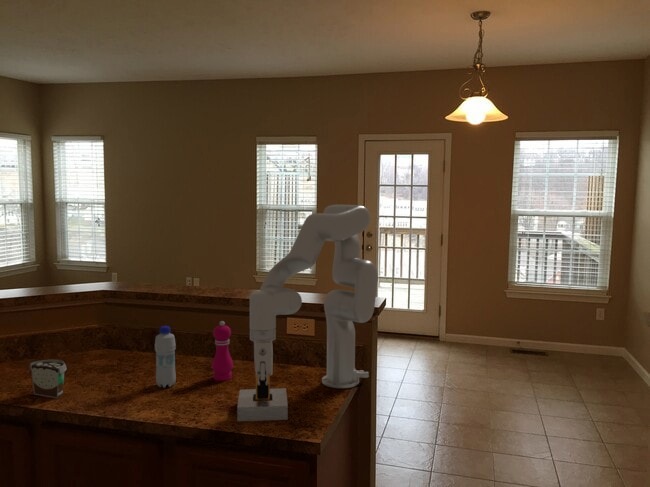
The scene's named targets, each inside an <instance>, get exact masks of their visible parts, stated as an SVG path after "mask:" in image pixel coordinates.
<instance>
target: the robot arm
mask: <svg viewBox="0 0 650 487" xmlns="http://www.w3.org/2000/svg"><path fill="white" fill-rule="evenodd" d="M303 221H304V222H303V224H302V226H301V228H300V230H299V232H298V234H297V237H296V238H295V241H294V243H293V244H292V247H291V249H290V250H289V252H288V253H287V255H285V256H283V258H281V259H280V260H278V262H277V263H276V264H275V265H274V266H273V267H272V268H271V269H270V270H269V271H268V272H267V274H266V276H265V278H264V280H263V281H262V284H261V286H260V289H259V290H257V291H254V292H251V293H250V294H249V340H250V341H251V342H253V358H254V359H253V360H254V369H255V370H254V371H255V376H256V375H257V376H258V385H257V398H258V399H267V398H268V375H270V376H272V375H273V367H274V365H273V363H274V362H273V359H274V357H273V356H274V355H273V353H274V352H273V345H274V344H273V341H275V340H276V339H277V338H276V336H277V335H276V334H277V329H276V328H277V316H279V315H281V316H283V315H288V316H289V315H292V314H296V313H297V312H298V311H299V310H300V308H301V307H302V304H303V302H302V301H303V300H302V296H301V295H300V293H299V292H298V291H296V290H294V289H291V288H285V287H284V285H285V283H286V282H287V281H288V280H289V279H290V278H291V277H292V276H294V275H296V274H298V273H301V272H303V271H306V270H308V269H311V268H312V267H314V265H315V264H316V262H317V260H318V257H319V256H320V254H321V251H322V248H323V246H324V245H325V242H334V255H333V256H334V257H333V262H332V263H333V264H332V275H331V276H332V281H333V282H334V283H335V284H337V285H339V286H343V287H348V288H354V291H352V290H346V289H333V290H331V291H329V292H328V293H327V294H326V295H325V297H324V301H323V302H324V303H323V309H324V314H325V320H326V375H324V376H322V377H321V383H322V384H323V385H324V386H325V387H327V388H328V387H329V388H334V389H351V388H354V387H356V386H358V385H359V383H360V378H363V379H364V378H365V379H366V378H369V377H370V375H369V371H364V370H363V369H362V370H361V369H360V370H357V369H356V366H355V365H356V364H355V363H356V329H355V324H354V322H355V323H360V324H364V323H367V322H368V321H370V319H371V318H372V317H373V314H374V311H375V307H376V306H375V304H376V296H377V288H378V281H379V280H378V269H377V267H376V265H375V264H374V263H373V262H372V260H371V261H370V260H367V259H362V258H361V255H360V254H361V241H360V237H359V234H360V233H362V232H364V231H366V229H368V227H369V226H370V222H371V213H370V211H369V210H368V209H367V207H365V206H363V205H359V204H358V205H357V204H331V205H328V206H326V207H325V208H324V210H323V213H318V212H317V213H311V214H310V215H308V216H307V217H306V218H305V220H303ZM265 372H266V374H265ZM259 373H261V374H259ZM260 377H261V378H260ZM265 377H266V378H265Z"/></svg>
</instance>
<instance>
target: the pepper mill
mask: <svg viewBox="0 0 650 487" xmlns="http://www.w3.org/2000/svg"><path fill="white" fill-rule="evenodd" d="M212 334H213V337H214V338H215V340H214V344H215V346H216V347H215V349H216V350H215V354H214V357H213V360H212V363H211V369H212V370H213V373H212V374H213V376H212V378H213V380H215V381H218V382H220V381H221V382H222V381H223V382H224V381H228V380H231V379H232V377H233V375H232V374H233V373H232V370H233V368H234V362H233V358H232V357H231V354H230V351H229V345H230V343H231V342H230V337H231V335H232V330H231V328H230V327H229V326H228V325H226V322H225V321H223V320H221V321H219V325H218V326H216V327H215V328H214V329H213V333H212Z"/></svg>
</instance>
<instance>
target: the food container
mask: <svg viewBox="0 0 650 487" xmlns="http://www.w3.org/2000/svg"><path fill="white" fill-rule="evenodd" d="M29 370H31V378H32V388H33V395H34V396H35V395H36V396H41V397H46V398H54V399H60V398H61V397H62V396H63V395H64V385H65V383H64V382H65V372H66V371H67V365H66V363H65V361H64V360H62V359H44V360H38V361H37V360H36V361H32V362H30V365H29Z"/></svg>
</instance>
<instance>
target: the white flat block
mask: <svg viewBox="0 0 650 487" xmlns="http://www.w3.org/2000/svg"><path fill="white" fill-rule="evenodd" d="M238 393H239V394H238V400H237V408H236V409H237V410H236V411H237V412H236V414H237V422H254V421H255V422H258V421H259V422H261V421H284V420H285V421H287V420H288V419H289V418H288V416H289V414H288V413H289V410H288V408H289V406H288V396H287V388H284V387H283V388H280V387H279V388H270V401H256V388H253V389H251V388H250V389H248V388H247V389H239V392H238Z"/></svg>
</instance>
